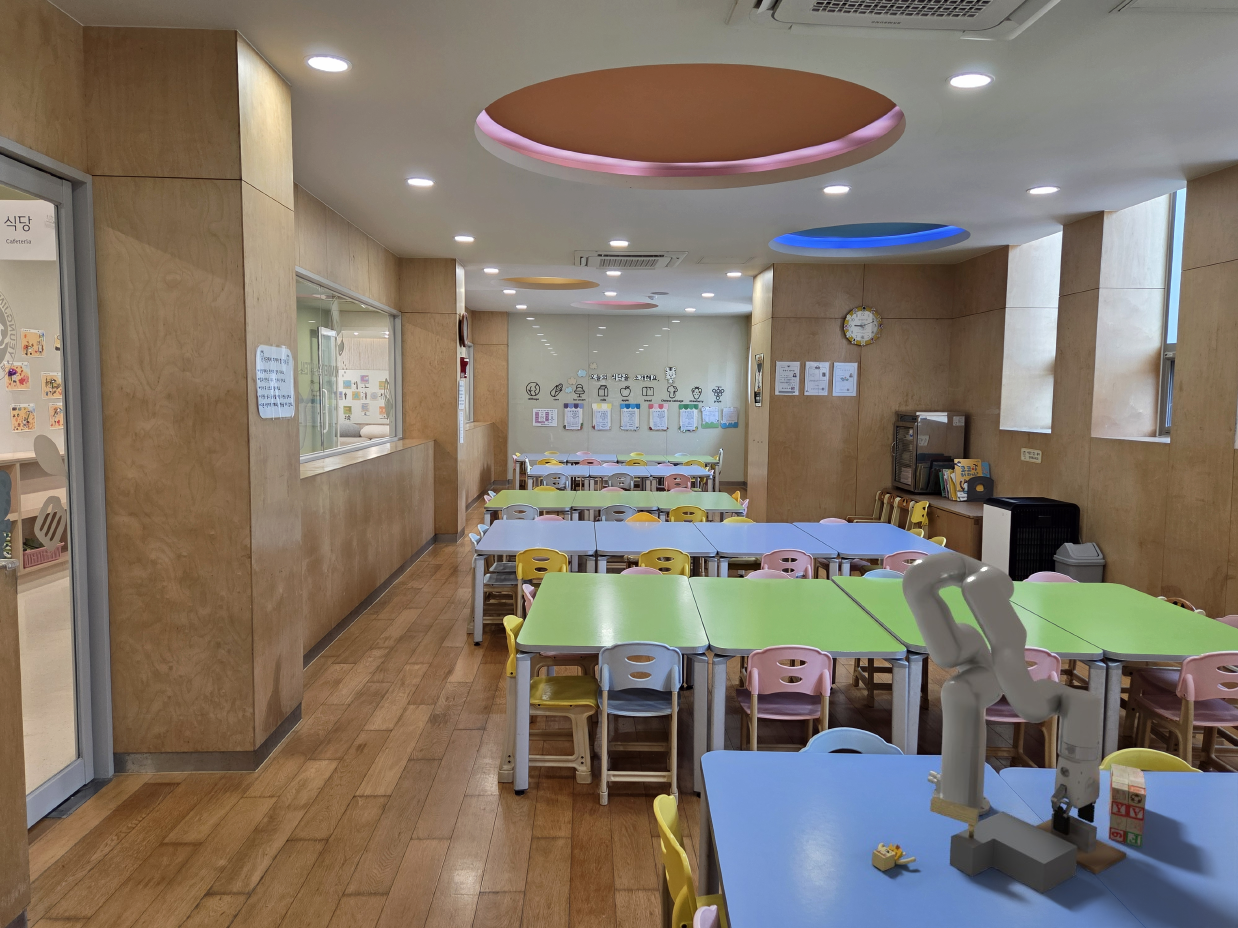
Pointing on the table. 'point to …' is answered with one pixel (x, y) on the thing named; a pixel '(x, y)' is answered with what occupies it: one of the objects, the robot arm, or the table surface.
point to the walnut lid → (1086, 845)
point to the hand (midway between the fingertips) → (1073, 825)
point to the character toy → (889, 857)
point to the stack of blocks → (1126, 804)
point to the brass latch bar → (956, 813)
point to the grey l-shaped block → (1014, 852)
